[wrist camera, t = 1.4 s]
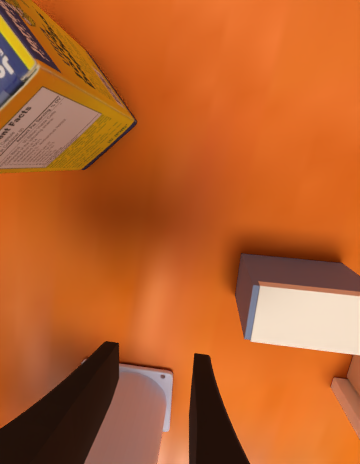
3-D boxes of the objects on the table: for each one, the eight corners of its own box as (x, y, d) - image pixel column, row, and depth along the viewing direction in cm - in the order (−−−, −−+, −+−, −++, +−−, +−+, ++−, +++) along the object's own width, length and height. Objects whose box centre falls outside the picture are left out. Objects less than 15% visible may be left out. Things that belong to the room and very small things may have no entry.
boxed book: (234, 295, 21) (244, 340, 16) (241, 252, 20) (253, 285, 14) (329, 306, 20) (373, 357, 15) (341, 262, 19) (394, 300, 14)
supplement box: (88, 51, 17) (-108, -136, 6) (139, 123, 18) (43, 63, 7) (34, 107, 18) (-196, 31, 8) (84, 171, 19) (-62, 179, 9)
